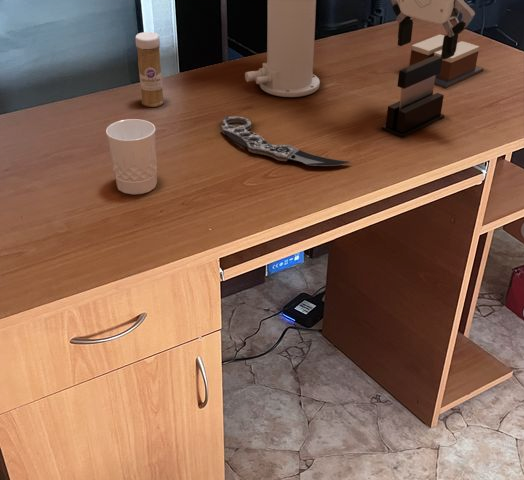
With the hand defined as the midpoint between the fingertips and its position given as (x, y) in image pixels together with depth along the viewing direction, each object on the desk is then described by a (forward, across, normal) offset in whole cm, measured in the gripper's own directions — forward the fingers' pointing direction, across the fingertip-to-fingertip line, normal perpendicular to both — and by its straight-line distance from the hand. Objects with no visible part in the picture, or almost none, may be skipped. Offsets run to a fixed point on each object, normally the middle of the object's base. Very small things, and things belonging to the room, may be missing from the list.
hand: (425, 50), depth 142 cm
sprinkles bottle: (+13, -43, -31) cm, 54 cm away
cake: (+14, -13, +26) cm, 32 cm away
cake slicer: (+14, -1, 0) cm, 14 cm away
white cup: (+14, -18, -53) cm, 58 cm away
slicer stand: (+14, -1, 0) cm, 14 cm away
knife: (+14, -12, -27) cm, 33 cm away
